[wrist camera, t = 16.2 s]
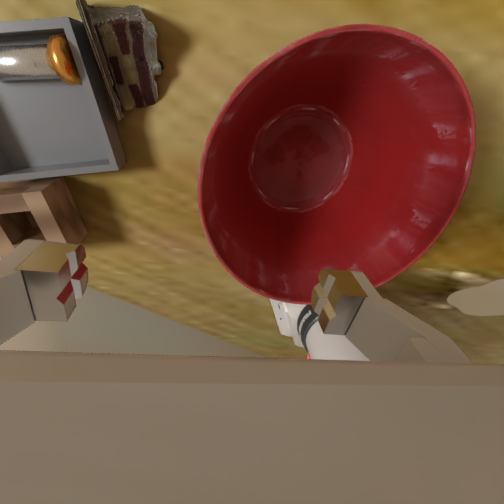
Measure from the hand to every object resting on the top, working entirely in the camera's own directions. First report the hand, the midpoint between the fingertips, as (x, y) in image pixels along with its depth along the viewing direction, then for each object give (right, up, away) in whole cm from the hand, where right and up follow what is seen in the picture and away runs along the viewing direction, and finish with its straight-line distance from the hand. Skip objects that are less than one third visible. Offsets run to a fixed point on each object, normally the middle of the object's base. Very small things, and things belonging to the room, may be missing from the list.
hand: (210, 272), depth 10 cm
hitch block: (-29, +7, +31) cm, 43 cm away
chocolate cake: (-13, +23, +24) cm, 35 cm away
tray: (-24, +19, +25) cm, 39 cm away
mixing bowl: (+9, +14, +32) cm, 36 cm away
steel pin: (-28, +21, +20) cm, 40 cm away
